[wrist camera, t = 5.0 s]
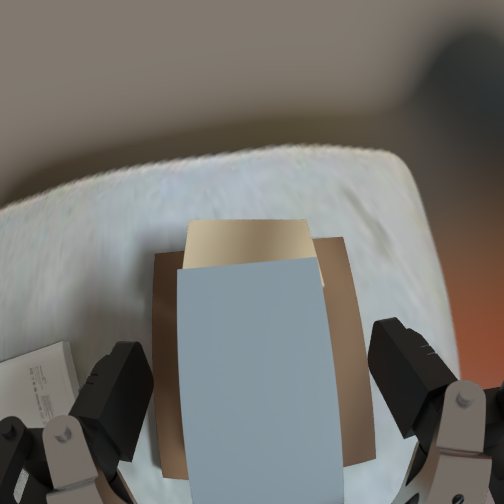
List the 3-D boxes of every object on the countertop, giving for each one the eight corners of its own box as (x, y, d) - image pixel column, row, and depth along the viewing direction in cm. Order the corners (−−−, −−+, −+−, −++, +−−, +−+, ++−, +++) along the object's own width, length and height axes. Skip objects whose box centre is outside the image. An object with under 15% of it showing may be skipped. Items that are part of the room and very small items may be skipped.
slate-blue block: (243, 433, 12) (200, 539, 3) (235, 345, 15) (177, 269, 5) (288, 429, 12) (343, 528, 3) (279, 341, 15) (316, 256, 5)
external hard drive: (-12, 372, 14) (73, 343, 16) (10, 457, 11) (107, 453, 13) (-24, 369, 13) (59, 339, 15) (-2, 458, 10) (95, 458, 11)
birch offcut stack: (198, 321, 15) (177, 300, 12) (197, 252, 17) (179, 215, 13) (315, 310, 15) (333, 286, 12) (304, 242, 17) (315, 203, 13)
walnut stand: (168, 472, 12) (147, 490, 9) (159, 260, 18) (140, 234, 15) (369, 454, 12) (393, 469, 9) (339, 243, 18) (353, 215, 15)
